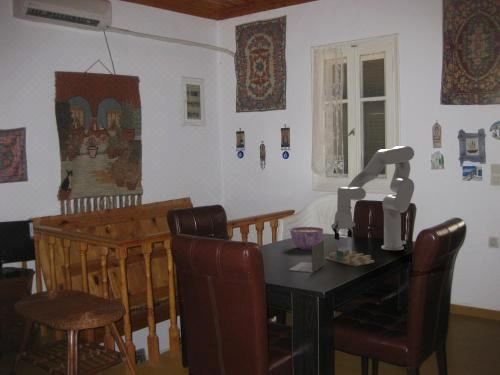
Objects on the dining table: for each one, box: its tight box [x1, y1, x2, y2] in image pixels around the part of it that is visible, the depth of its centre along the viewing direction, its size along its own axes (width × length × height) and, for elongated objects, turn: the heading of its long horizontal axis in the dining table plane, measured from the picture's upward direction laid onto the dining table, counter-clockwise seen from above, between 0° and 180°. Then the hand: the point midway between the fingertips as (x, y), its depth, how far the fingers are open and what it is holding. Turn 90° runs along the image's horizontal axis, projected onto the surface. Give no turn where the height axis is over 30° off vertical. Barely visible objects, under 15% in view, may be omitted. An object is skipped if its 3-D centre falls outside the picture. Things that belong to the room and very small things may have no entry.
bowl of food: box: [289, 226, 324, 251], centre depth 303 cm, size 20×20×12 cm
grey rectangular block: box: [337, 235, 353, 253], centre depth 290 cm, size 3×8×9 cm, turn 32°
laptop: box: [288, 240, 325, 274], centre depth 254 cm, size 18×12×13 cm
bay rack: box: [325, 249, 375, 267], centre depth 268 cm, size 14×22×6 cm, turn 32°
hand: (343, 238), depth 289 cm, fingers open, 9 cm apart
